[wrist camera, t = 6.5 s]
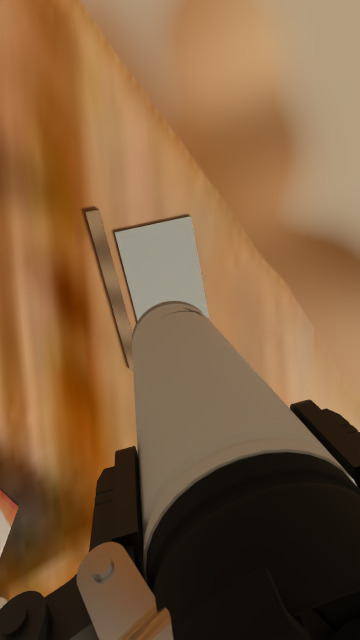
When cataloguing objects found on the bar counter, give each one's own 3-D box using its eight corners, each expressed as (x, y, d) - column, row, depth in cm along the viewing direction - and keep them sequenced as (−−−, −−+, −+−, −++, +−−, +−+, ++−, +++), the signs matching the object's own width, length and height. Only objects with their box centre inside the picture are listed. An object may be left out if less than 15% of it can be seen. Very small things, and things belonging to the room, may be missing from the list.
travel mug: (179, 279, 23) (424, 517, 4) (226, 344, 25) (530, 699, 6) (111, 330, 23) (49, 776, 4) (164, 390, 25) (275, 865, 6)
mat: (114, 232, 40) (114, 232, 39) (190, 216, 41) (190, 216, 41) (143, 345, 45) (144, 346, 45) (210, 328, 46) (211, 329, 46)
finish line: (86, 212, 39) (85, 212, 38) (98, 209, 39) (98, 209, 38) (129, 368, 46) (130, 370, 45) (140, 365, 46) (140, 367, 45)
